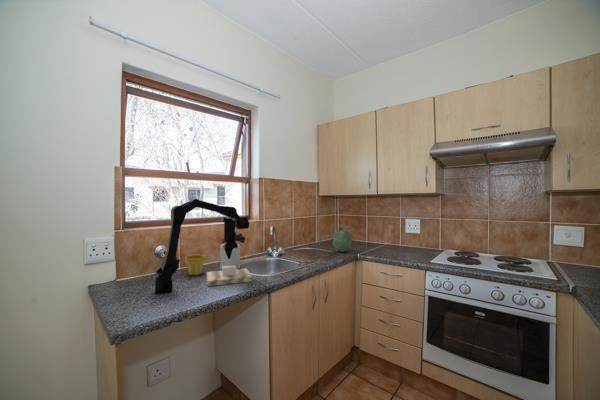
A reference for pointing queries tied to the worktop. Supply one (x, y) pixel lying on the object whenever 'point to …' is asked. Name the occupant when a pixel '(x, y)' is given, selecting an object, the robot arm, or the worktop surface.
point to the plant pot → (195, 264)
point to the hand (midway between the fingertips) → (229, 258)
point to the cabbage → (342, 240)
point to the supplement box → (233, 259)
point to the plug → (228, 270)
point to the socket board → (228, 277)
